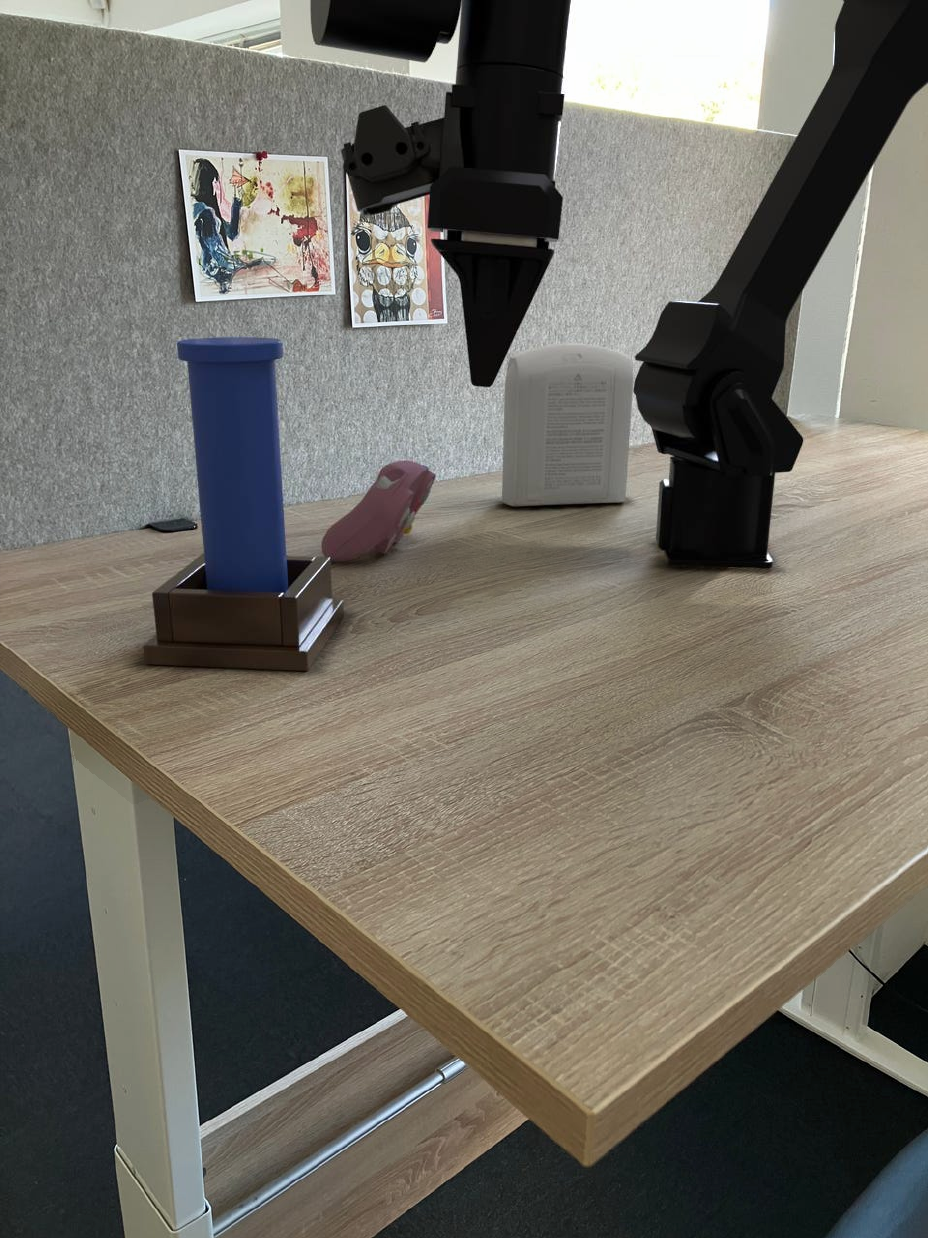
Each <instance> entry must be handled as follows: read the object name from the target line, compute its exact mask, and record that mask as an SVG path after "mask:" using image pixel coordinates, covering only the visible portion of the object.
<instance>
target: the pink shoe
mask: <svg viewBox="0 0 928 1238" xmlns="http://www.w3.org/2000/svg"><path fill="white" fill-rule="evenodd" d="M436 476H437V475H436V473H434V472H433V471H431V470H430V467H428V466H426V465H425V464H421V463H418V462H415V461H412V460H409V459H406V460H397V461H393V462H390V463H387V464H385V465H384V466H383V467H382V468H381V469H380V470H379V472H378V474H377V477H376V480H375V482H373V483H372V484H371V486H370V487H369V489H368V490H367V492H366V493H365V495H364V496H363V498H362V499H361V501H359V502H358V503H357V505H355V506H354V507H353V508H352V510H350V511H349V512H347V514H345V515H344V516H342V517H341V518H340V519H339V520H338V521H336V522H335V523H333V524H332V525H331V526H330V527H329V528H328V529H327V530H326V532H325V534H324V535H323V537H322V540H321V547H320V548H321V553H322V554H323V557H330V560H331V562H334V563H335V562H337V563H338V562H347V561H350V560H351V561H352V560H354V559H357V558H359V557H361V556H363V555H365V554H366V553H368V552H369V551H370V550H372V549H373V548H374V549H375V550H376V551H377V552H379V553H380V554H383V555H387V553H388V552H389V551H390V549H391V547H392V546H393V544H394V542H400V541H401V540H402V538H403V537H404V535H409V534H410V533H411V531H412V530H413V524H414V521H415V517H416V515H417V513H418V512H419V510H420V509H421V507H422V506H424V504H425V503H426V501H427V500H428V497H429V496H430V494H431V489H432V487H433V485H434V482H435V480H436Z"/></svg>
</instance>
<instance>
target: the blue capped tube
mask: <svg viewBox="0 0 928 1238" xmlns="http://www.w3.org/2000/svg"><path fill="white" fill-rule="evenodd" d="M283 344H284V343H283V340H282V339H279V338H274V337H272V338H271V337H259V336H258V337H255V336H241V337H240V336H230V337H229V336H228V337H226V336H223V337H221V336H220V337H202V338H201V337H200V338H188V339H187V338H186V339H182V340H178V341H177V342H176V349H177V358H178V361H179V360H180V361H183V362H186V363H187V375H188V385H189V386H188V387H189V397H190V410H191V419H192V420H191V421H192V430H193V431H192V432H193V443H194V454H195V465H196V466H195V467H196V478H197V488H198V490H197V491H198V501H199V502H198V503H199V512H200V513H199V514H200V524H201V535H202V536H201V537H202V546H203V548H202V549H203V553H204V559H205V571H206V582H207V590H228V591H258V592H282V593H283V594H284V592H285V591H286V590H287V589H288V573H287V557H286V556H287V543H286V542H287V540H286V525H285V524H286V523H285V509H284V508H285V507H284V492H283V473H282V458H281V456H282V455H281V440H280V424H279V423H280V421H279V408H278V407H279V406H278V404H279V403H278V391H277V390H278V389H277V375H276V374H277V372H276V360H281V359H282V358H283V357H284V345H283Z"/></svg>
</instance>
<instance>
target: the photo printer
mask: <svg viewBox="0 0 928 1238" xmlns="http://www.w3.org/2000/svg"><path fill="white" fill-rule="evenodd" d="M633 390H634V367H633V363H632V359H631V356H629V355H627V354H625V353H623V352H620V351H618V350H615V349H611V348H608V347H604V346H599V345H594V344H587V343H576V342H564V343H552V344H546V345H540V346H536V347H532V348H529V349H526V350H523V351H520V352H517V353H515V354H513V355H510V357H509V359H508V362H507V367H506V374H505V380H504V398H503V399H504V400H503V401H504V402H503V404H504V405H503V406H504V407H503V442H502V443H503V444H502V475H501V476H502V477H501V478H502V479H501V480H502V481H501V501H502V503H504V505H507V506H509V507H514V508H515V507H517V508H518V507H535V506H560V505H561V506H562V505H563V506H565V505H585V504H589V505H590V504H621V503H623V502H625V500H626V496H627V488H628V487H627V483H628V470H629V469H628V467H629V452H630V438H631V424H632V423H631V422H632V411H633V410H632V409H633V407H632V406H633V396H634V395H633V394H634V391H633Z"/></svg>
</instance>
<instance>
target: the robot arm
mask: <svg viewBox="0 0 928 1238" xmlns="http://www.w3.org/2000/svg"><path fill="white" fill-rule="evenodd" d="M842 1H843V3H842V5H841V8H840V11H839V13H838V16H837V19H836V21H835V25H834V37H833V38H834V41H833V42H834V43H833V66H832V70H831V72H830V75H829V77H828V79H827V81H826V83H825V85H824V87H823V89H822V90H821V92H820V93H819V95H818V97H817V99H816V100H815V102H814V105H813V107H812V108H811V110H810V112H809V114H808V115H807V117H806V119H805V121H804V123H803V124H802V127H801V128H800V130H799V132H798V133H797V136H796V137H795V139H794V141H793V143H792V145H791V147H790V148H789V150H788V151H787V154H786V155H785V157H784V160H783V161H782V162H781V164H780V167H779V168H778V170H777V172H776V174H775V176H774V177H773V179H772V180H771V183H770V184H769V187H768V188H767V190H766V192H765V194H764V195H763V198H762V199H761V202H760V203H759V205H758V207H757V208H756V210H755V212H754V214H753V215H752V217H751V219H750V221H749V223H748V225H747V226H746V228H745V230H744V232H743V234H742V235H741V238H740V239H739V241H738V243H737V244H736V247H735V249H734V250H733V252H732V254H731V256H730V258H729V259H728V261H727V263H726V265H725V267H724V269H723V271H722V272H721V274H720V275H719V278H718V280H717V281H716V283H715V284H714V286H713V287H712V288H711V289H710V290H709V291H708V292H707V293H706V294H705V295H704V296H702V297H701V298H700V299H699V300H698V301H696V302H692V301H678V300H677V301H676V300H670V301H668V302H667V303H666V305H665V306H664V308H663V310H662V311H661V312H660V316H659V318H658V321H657V324H656V326H655V329H654V331H653V334H652V335H651V338H650V339H649V341H648V342H647V343H646V345H645V347H643V348H642V349H641V350H640V351H639V352H638V353H637V354H636V355H635V356H634V359H635V361H637V362H642V363H641V365H640V367H639V369H638V372H637V374H636V377H635V378H634V382H633V394H634V395H635V399H636V406H637V411H638V412H639V413H640V415H641V417H642V419H643V421H644V422H645V423H646V424H647V425H649V426H650V427H651V431H652V434H653V438H654V439H653V440H654V443H655V446H656V449H657V452H658V453H659V454H662V455H669V456H670V457H669V469H668V471H669V473H668V478H666V479H665V478H664V479H661V480H660V481H659V486H658V498H657V499H658V500H657V502H658V503H657V517H656V533H655V540H656V543H657V547H658V548H659V549H660V551H663V553H664V557H665V560H666V564H667V565H668V566H674V567H699V568H700V567H703V568H732V569H733V568H734V569H735V568H736V569H765V570H766V569H767V570H768V569H772V568H773V563H774V560H773V559H772V557H771V555H770V553H769V552H768V550H769V548H768V547H769V539H770V532H771V531H770V529H771V522H772V521H771V519H772V512H773V511H772V510H773V499H774V490H775V480H776V474H779V473H790V472H791V471H793V469H794V466H795V464H796V462H797V459H798V456H799V454H800V451H801V450H802V446H803V445H804V437H803V436H802V435H801V433H800V432H799V431H798V429H797V428H796V427H795V426H794V424H793V423H792V422H791V420H790V419H789V418H788V416H786V414H785V412H783V410H781V408H780V406H778V404H777V403H776V402H775V400H773V398H774V395H775V394H776V393H775V392H776V390H777V388H778V385H779V382H780V381H781V378H782V375H783V373H784V369H785V353H786V350H785V349H786V332H787V331H786V330H787V329H786V328H787V322H788V320H789V317H790V314H791V312H792V311H793V308H795V305H796V303H797V302H798V300H799V299H800V296H801V295H802V293H803V291H804V289H805V288H806V286H807V284H808V282H809V280H810V279H811V277H812V275H813V274H814V271H815V270H816V268H817V267H818V264H819V263H820V261H821V259H822V257H823V255H824V254H825V252H826V250H827V248H828V247H829V245H830V243H831V241H832V239H833V238H834V236H835V234H836V233H837V230H838V229H839V227H840V225H841V223H842V222H843V220H844V218H845V216H846V215H847V213H848V211H849V209H850V208H851V206H852V204H853V202H854V201H855V199H856V197H857V195H858V193H859V191H860V189H862V186H863V185H864V183H865V181H866V179H867V178H868V175H869V174H870V172H871V170H872V169H873V166H874V165H875V163H876V161H877V159H878V157H879V156H880V154H881V153H882V150H883V149H884V148H885V145H886V143H887V141H888V140H889V138H890V136H891V135H892V133H893V131H894V130H895V127H896V126H897V124H898V122H899V120H900V118H901V116H902V115H903V113H904V111H905V109H906V108H907V106H908V105H909V103H910V102H911V100H912V99H913V98H914V96H915V95H916V94H918V93H919V92H920V90H922V89H923V88H924V87H925V86H927V85H928V0H842ZM573 2H574V0H310V2H309V3H310V7H309V8H310V10H309V11H310V28H311V34H312V40H313V42H314V45H316V46H321V47H328V48H333V49H338V50H339V49H340V50H346V51H352V52H356V53H357V52H358V53H363V54H369V55H375V56H381V57H388V58H394V59H399V60H405V61H411V62H416V63H417V62H418V63H426V62H428V61H429V59H430V58H431V56H432V55H433V53H434V50H435V48H436V46H437V44H442V45H443V44H444V45H448V44H449V43H450V42H451V41H452V39H453V37H454V36H455V33H456V30H457V27H458V22H459V34H458V46H457V60H456V72H455V82H454V83H455V84H454V83H452V85H451V91H446V92H445V97H444V98H445V99H444V112H443V117H441V118H436V119H433V120H430V121H426V122H423V123H420V122H419V121H417V120H416V121H414V122H411V123H410V125H409V126H406V127H405V126H404V125H403V123H402V122H401V121H400V120H399V118H398V117H397V116H396V115H395V114H394V113H393V111H392V110H391V109H390V108H389V107H388V105H387V104H384V105H380V106H377V107H374V108H371V109H367V110H364V111H361V112H359V113H358V116H357V124H356V129H355V134H354V140H353V143H352V142H350V141H349V142H346V143H343V147H342V149H340V153H341V157H342V161H343V165H342V166H343V171H344V173H345V174H346V175H347V178H348V183H349V185H350V189H351V192H352V196H353V199H354V203H355V206H356V210H357V212H359V213H360V212H362V213H363V215H364V216H367V217H368V216H376V215H379V214H383V213H386V212H390V211H391V210H392V208H393V207H394V206H397V205H400V204H403V203H406V202H410V201H413V200H416V199H420V198H423V197H427V196H429V198H428V199H429V200H428V212H427V213H428V214H427V229H428V230H429V231H430V232H434V233H444V230H445V231H446V239H444V238H431V239H430V242H431V244H432V246H433V247H434V248H435V250H436V251H437V252H438V253H439V254H440V256H441V257H442V258H443V259H444V261H445V262H446V263H447V264H448V265H449V267H450V268H451V269H452V270H453V271H454V273H455V274H456V276H457V278H458V280H459V287H460V294H461V302H462V311H463V321H464V330H465V340H466V349H467V360H468V368H469V377H470V383H471V385H472V386H474V387H479V388H480V387H482V388H491V387H492V386H493V385H494V383H495V380H496V379H497V376H498V374H499V372H500V370H501V368H502V365H503V364H504V361H505V359H506V357H507V355H508V352H509V350H510V348H511V347H512V344H513V342H514V339H515V338H516V335H517V333H518V331H519V330H520V327H521V325H522V324H523V321H524V319H525V318H526V317H525V316H526V314H527V312H528V311H529V308H530V306H531V304H532V301H533V300H534V297H535V295H536V293H537V291H538V289H539V286H540V285H541V282H542V280H543V278H544V276H545V275H546V272H547V269H548V267H549V265H550V264H551V261H552V259H553V257H554V255H555V249H553V248H549V247H550V243H557V242H558V241H559V239H560V229H561V220H562V212H563V211H562V210H563V200H564V196H562V194H561V193H560V192H559V190H558V189H557V188H556V181H555V180H556V179H555V178H556V168H557V160H558V159H557V157H558V151H559V149H558V148H559V139H560V129H561V121H562V118H563V114H564V113H563V112H564V103H565V95H566V93H564V91H565V80H566V71H567V62H568V61H567V60H568V52H569V44H570V43H569V41H570V33H571V32H570V31H571V23H572V22H571V21H572V13H573ZM459 20H460V21H459Z"/></svg>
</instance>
